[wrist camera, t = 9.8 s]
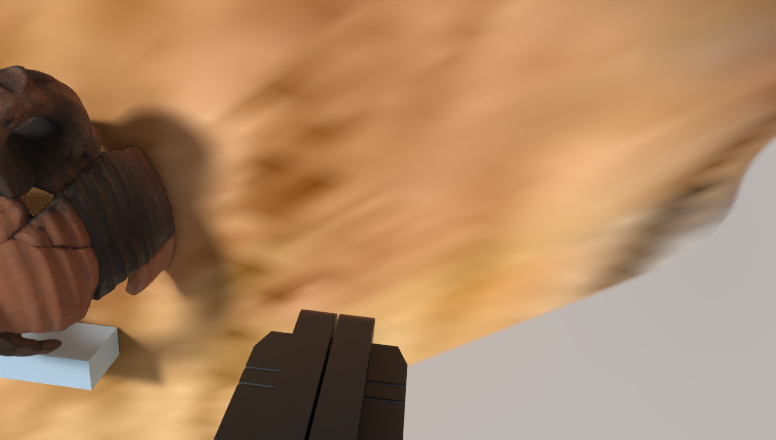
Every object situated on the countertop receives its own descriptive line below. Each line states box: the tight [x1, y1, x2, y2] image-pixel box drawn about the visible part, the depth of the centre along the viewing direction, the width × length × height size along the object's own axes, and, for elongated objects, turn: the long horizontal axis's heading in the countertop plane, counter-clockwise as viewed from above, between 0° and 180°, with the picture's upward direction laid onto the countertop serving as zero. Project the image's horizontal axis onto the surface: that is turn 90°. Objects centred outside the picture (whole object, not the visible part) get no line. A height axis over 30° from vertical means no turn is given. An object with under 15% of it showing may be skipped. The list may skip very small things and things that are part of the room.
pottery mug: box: [0, 66, 175, 357], centre depth 22 cm, size 12×10×8 cm
